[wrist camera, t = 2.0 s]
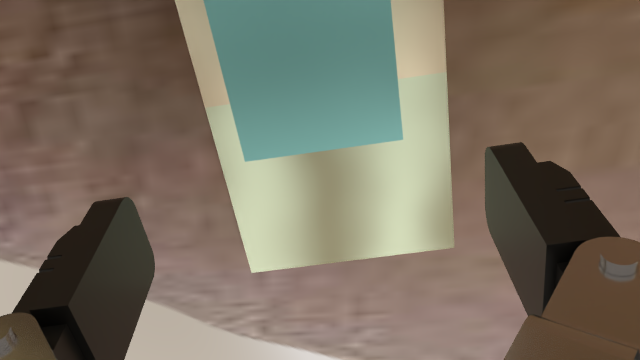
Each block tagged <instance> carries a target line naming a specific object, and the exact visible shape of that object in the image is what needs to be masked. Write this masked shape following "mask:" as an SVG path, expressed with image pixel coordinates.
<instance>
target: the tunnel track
mask: <svg viewBox="0 0 640 360" xmlns="http://www.w3.org/2000/svg"><path fill="white" fill-rule="evenodd" d="M175 3H176V7H177V10H178V14H179V17H180V21H181V24H182V28H183V31H184V35H185V38H186V42H187V46H188V49H189V53H190V56H191V60H192V63H193V67H194V70H195V74H196V77H197V81H198V85H199V88H200V92H201V95H202V99H203V102H204V106H205V109H206V113H207V116H208V120H209V123H210V127H211V131H212V134H213V138H214V141H215V145H216V148H217V152H218V155H219V159H220V162H221V166H222V170H223V173H224V177H225V180H226V184H227V187H228V191H229V194H230V198H231V201H232V205H233V209H234V212H235V216H236V219H237V223H238V226H239V230H240V233H241V237H242V240H243V244H244V247H245V251H246V255H247V258H248V262H249V265H250V269H251V272H252V273H254V272H262V271H270V270H278V269H286V268H294V267H303V266H311V265H319V264H327V263H335V262H343V261H351V260H359V259H367V258H375V257H383V256H391V255H399V254H407V253H415V252H423V251H431V250H439V249H447V248H454V230H453V207H452V185H451V162H450V139H449V117H448V94H447V71H446V49H445V26H444V4H443V0H391V10H392V21H393V32H394V43H395V54H396V65H397V76H398V87H399V98H400V109H401V120H402V131H403V140H398V141H391V142H384V143H377V144H369V145H362V146H355V147H348V148H341V149H334V150H327V151H319V152H312V153H305V154H298V155H291V156H284V157H277V158H269V159H262V160H255V161H248V162H245V160H244V156H243V152H242V149H241V145H240V141H239V137H238V133H237V129H236V125H235V121H234V117H233V113H232V110H231V106H230V102H229V98H228V94H227V90H226V86H225V82H224V78H223V75H222V71H221V67H220V63H219V59H218V55H217V51H216V47H215V43H214V40H213V36H212V32H211V28H210V24H209V20H208V16H207V12H206V8H205V4H204V1H203V0H175Z"/></svg>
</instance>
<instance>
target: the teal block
mask: <svg viewBox="0 0 640 360" xmlns="http://www.w3.org/2000/svg"><path fill="white" fill-rule="evenodd" d="M203 1H204V4H205V8H206V12H207V16H208V20H209V24H210V28H211V32H212V36H213V40H214V43H215V47H216V51H217V55H218V59H219V63H220V67H221V71H222V75H223V78H224V82H225V86H226V90H227V94H228V98H229V102H230V106H231V110H232V113H233V117H234V121H235V125H236V129H237V133H238V137H239V141H240V145H241V149H242V152H243V156H244V160H245V162H248V161H255V160H262V159H269V158H277V157H284V156H291V155H298V154H305V153H312V152H319V151H327V150H334V149H341V148H348V147H355V146H362V145H369V144H377V143H384V142H391V141H398V140H403V131H402V120H401V109H400V98H399V87H398V76H397V65H396V54H395V43H394V32H393V21H392V10H391V0H203Z"/></svg>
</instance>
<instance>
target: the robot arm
mask: <svg viewBox="0 0 640 360" xmlns="http://www.w3.org/2000/svg"><path fill="white" fill-rule="evenodd" d="M485 210H486V218H487V224H488V228H489V231H490V234H491V236H492V238H493V240H494V243H495V245H496V247H497V249H498V251H499V254H500V256H501V258H502V260H503V262H504V265H505V267H506V269H507V271H508V273H509V276H510V278H511V280H512V282H513V284H514V286H515V289H516V291H517V293H518V295H519V297H520V300H521V302H522V304H523V306H524V308H525V311H526V313H527V315H528V317H527V319H526V320H525V322H524V323H523V325H522V327H521V329H520V331H519V332H518V334H517V336H516V338H515V340H514V342H513V343H512V345H511V347H510V349H509V351H508V353H507V354H506V356H505V358H504V360H640V242H638V241H635V240H631V239H627V238H622V237H620V236H619V234H618V233H617V232H616V231H615V229H614V228H613V227H612V225H611V224H610V223H609V222H608V220H607V219H606V218H605V216H604V215H603V214H602V213H601V211H600V210H599V209H598V207H597V206H596V205H595V204H594V202H593V201H592V200H590V197H589V196H588V195H587V193H586V192H585V191H584V190H583V189H581V186H580V184H579V183H578V182H577V181H576V179H575V178H574V177H573V175H572V174H571V173H570V172H569V171H567V170H566V169H564V168H562V167H560V166H558V165H557V164H555V163H553V162H551V161H546V162H539V163H537V162H536V160H535V159H534V158H533V156H532V155H531V153H530V152H529V150H528V149H527V148H526V146H525V145H524V144H523V143H522V142H520V143H513V144H506V145H499V146H492V147H487V148H486V152H485ZM47 258H48V260H45V261H44V263H43V264H42V266H41V268H40V269H39V273H37V274H36V276H35V277H34V279H33V280H32V282H31V283H30V285H29V287H28V288H27V290H26V291H25V293H24V295H23V296H22V298H21V300H20V301H19V303H18V304H17V306H16V307H15V309H14V310H13V312H12V313H11V314H7V315H3V316H1V317H0V360H124V359H125V356H126V353H127V350H128V347H129V344H130V342H131V339H132V336H133V333H134V331H135V328H136V325H137V322H138V319H139V317H140V314H141V311H142V308H143V305H144V303H145V300H146V297H147V294H148V291H149V289H150V286H151V283H152V280H153V277H154V271H155V262H154V255H153V251H152V248H151V246H150V243H149V241H148V238H147V235H146V233H145V230H144V228H143V225H142V222H141V220H140V217H139V215H138V212H137V209H136V207H135V205H134V203H133V201H132V200H131V199H130V198H128V197H124V198H117V199H110V200H103V201H96V202H94V203H93V204H92V206H91V207H90V209H89V211H88V212H87V214H86V216H85V217H84V219H83V221H82V222H81V224H80V225H78V226H74V227H73V228H72V229H71V230H69V231H68V232H67V233H66V234H65V235H64V236H62V237H61V238H60V239H59V240H58V241H57V242H56V244H55V245H54V247H53V248H52V250H51V252H50V253H49V255H48V256H47Z"/></svg>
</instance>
